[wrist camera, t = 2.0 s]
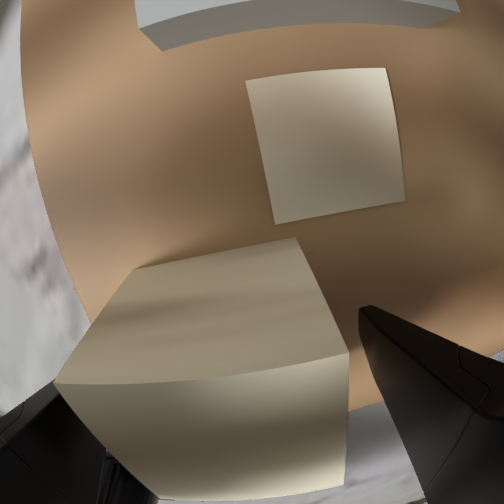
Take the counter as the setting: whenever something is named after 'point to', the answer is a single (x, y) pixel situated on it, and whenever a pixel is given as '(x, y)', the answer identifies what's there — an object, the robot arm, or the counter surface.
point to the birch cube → (217, 377)
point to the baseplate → (280, 158)
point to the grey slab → (275, 16)
